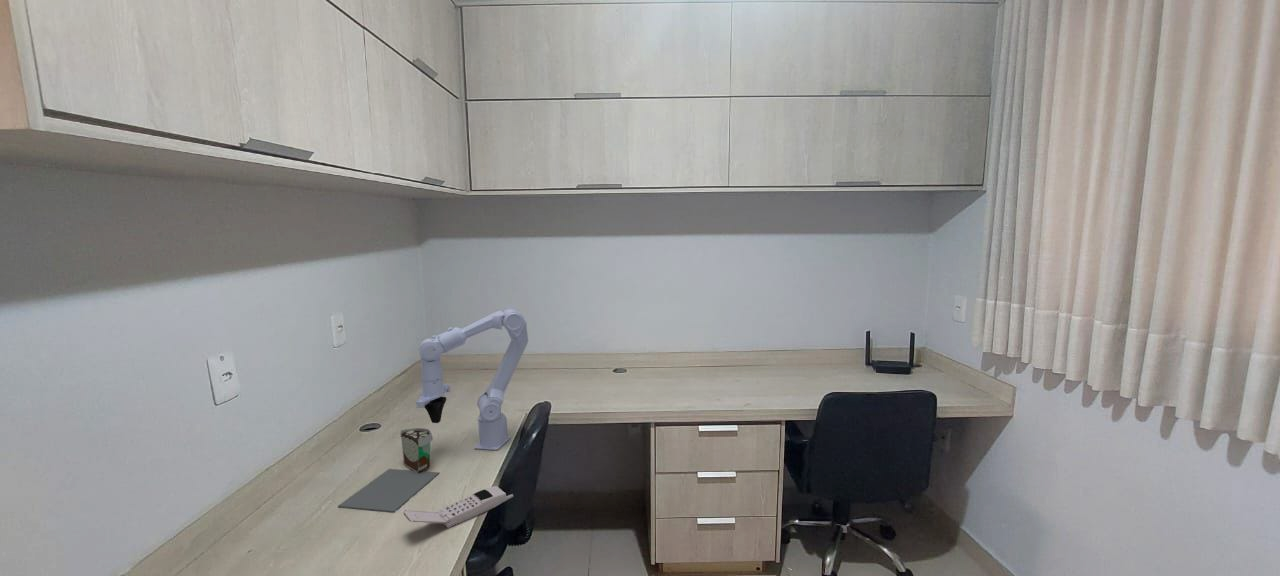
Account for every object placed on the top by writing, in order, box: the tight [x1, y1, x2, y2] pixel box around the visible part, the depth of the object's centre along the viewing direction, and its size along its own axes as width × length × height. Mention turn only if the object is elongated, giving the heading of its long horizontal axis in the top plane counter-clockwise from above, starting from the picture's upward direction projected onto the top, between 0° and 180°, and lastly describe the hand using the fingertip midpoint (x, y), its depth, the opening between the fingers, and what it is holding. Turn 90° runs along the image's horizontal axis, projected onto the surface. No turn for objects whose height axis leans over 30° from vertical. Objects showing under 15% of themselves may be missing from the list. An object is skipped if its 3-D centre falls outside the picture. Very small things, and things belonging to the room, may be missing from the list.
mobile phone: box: [402, 485, 514, 529], centre depth 120 cm, size 6×6×25 cm
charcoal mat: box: [337, 468, 440, 513], centre depth 133 cm, size 19×16×1 cm
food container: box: [400, 427, 434, 473], centre depth 145 cm, size 12×6×10 cm, turn 48°
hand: (436, 422), depth 151 cm, fingers closed
